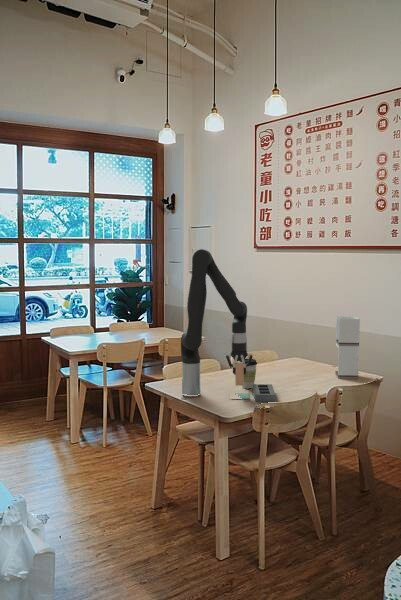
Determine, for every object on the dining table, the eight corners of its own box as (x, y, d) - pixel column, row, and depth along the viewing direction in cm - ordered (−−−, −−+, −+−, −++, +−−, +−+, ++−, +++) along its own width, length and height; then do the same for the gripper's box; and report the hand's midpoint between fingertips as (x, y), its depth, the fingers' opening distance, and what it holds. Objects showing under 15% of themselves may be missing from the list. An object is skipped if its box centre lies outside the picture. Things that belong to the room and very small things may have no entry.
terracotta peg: (235, 385, 270) (235, 364, 269) (235, 383, 274) (235, 362, 273) (243, 385, 270) (243, 364, 269) (243, 383, 274) (243, 362, 273)
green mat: (229, 399, 267) (229, 398, 267) (229, 394, 277) (229, 393, 277) (249, 399, 267) (249, 398, 267) (248, 394, 277) (248, 393, 277)
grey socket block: (255, 402, 262) (255, 394, 262) (252, 391, 282) (252, 384, 281) (275, 402, 262) (275, 394, 261) (271, 391, 281) (271, 384, 281)
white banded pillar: (354, 374, 318) (356, 316, 315) (358, 379, 308) (359, 318, 304) (335, 374, 319) (336, 316, 316) (338, 378, 309) (339, 318, 305)
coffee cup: (242, 390, 285) (242, 362, 283) (236, 385, 294) (236, 358, 293) (259, 388, 287) (259, 361, 286) (253, 384, 297) (253, 357, 295)
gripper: (252, 339, 273) (252, 372, 275) (224, 340, 273) (225, 372, 275) (253, 342, 266) (253, 376, 267) (225, 342, 266) (225, 376, 268)
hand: (239, 374), depth 271 cm, fingers closed on terracotta peg, 4 cm apart
